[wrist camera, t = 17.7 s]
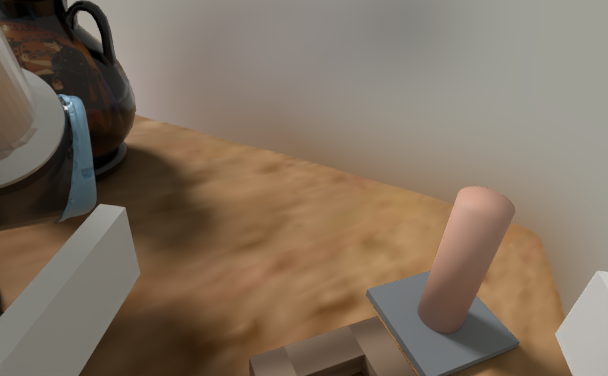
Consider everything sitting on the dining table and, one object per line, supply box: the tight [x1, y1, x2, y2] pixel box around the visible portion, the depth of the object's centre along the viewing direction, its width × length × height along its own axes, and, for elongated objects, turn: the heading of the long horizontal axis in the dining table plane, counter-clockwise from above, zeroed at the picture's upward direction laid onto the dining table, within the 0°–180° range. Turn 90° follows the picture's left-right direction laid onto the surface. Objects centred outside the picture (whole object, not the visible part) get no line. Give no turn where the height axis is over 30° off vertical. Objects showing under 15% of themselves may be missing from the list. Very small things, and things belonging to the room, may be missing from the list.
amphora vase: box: [0, 0, 136, 180], centre depth 62 cm, size 22×22×28 cm
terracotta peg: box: [418, 186, 515, 334], centre depth 43 cm, size 5×5×16 cm
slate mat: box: [366, 271, 519, 376], centre depth 48 cm, size 12×12×1 cm
